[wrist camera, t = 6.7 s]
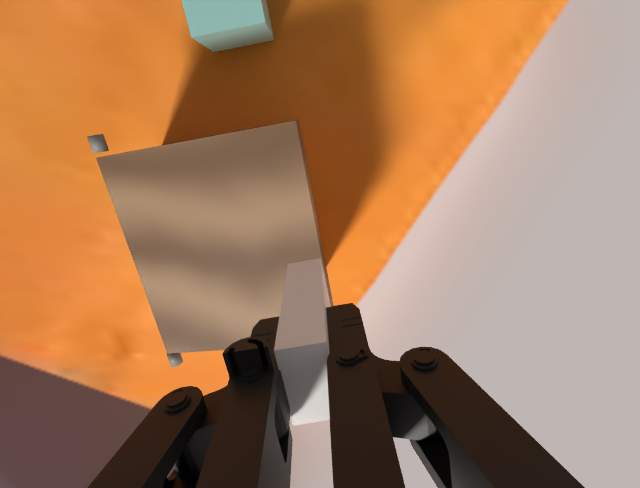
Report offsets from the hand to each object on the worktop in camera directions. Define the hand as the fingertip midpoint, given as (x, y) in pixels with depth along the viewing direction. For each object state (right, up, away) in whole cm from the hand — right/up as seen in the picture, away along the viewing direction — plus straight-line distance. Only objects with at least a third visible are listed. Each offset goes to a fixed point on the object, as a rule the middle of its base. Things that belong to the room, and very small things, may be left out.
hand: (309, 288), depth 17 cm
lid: (-6, +2, +8) cm, 10 cm away
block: (-6, +20, +13) cm, 25 cm away
